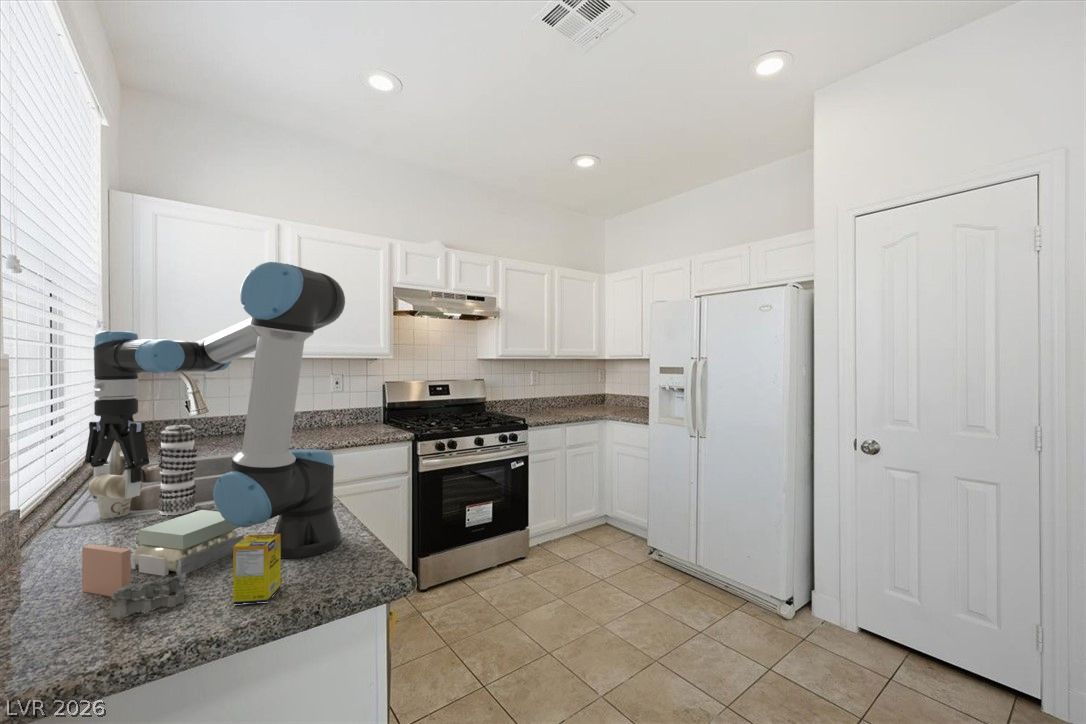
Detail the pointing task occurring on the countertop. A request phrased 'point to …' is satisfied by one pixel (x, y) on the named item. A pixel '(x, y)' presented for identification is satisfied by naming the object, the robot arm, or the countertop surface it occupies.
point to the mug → (113, 507)
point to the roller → (109, 486)
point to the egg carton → (137, 594)
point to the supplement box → (256, 568)
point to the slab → (186, 530)
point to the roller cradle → (152, 565)
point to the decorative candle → (177, 470)
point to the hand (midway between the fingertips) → (116, 495)
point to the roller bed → (190, 553)
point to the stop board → (104, 569)
